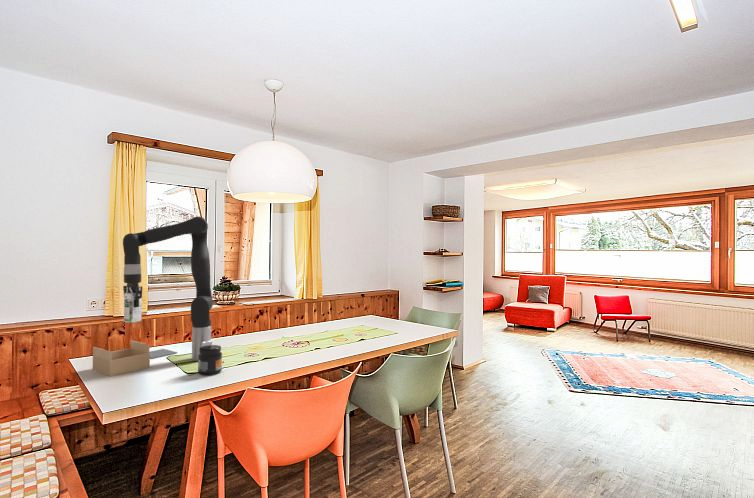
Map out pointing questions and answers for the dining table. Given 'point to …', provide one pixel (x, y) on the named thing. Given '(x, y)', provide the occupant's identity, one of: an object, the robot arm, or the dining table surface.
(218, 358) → the supplement container
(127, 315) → the syrup box
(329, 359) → the dining table surface
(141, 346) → the carton
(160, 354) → the mat
